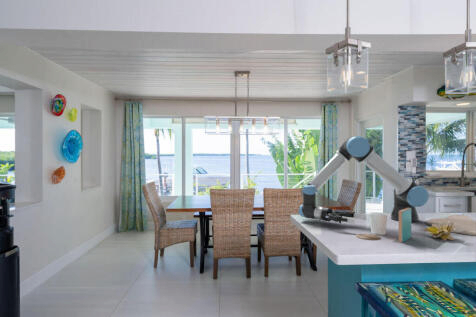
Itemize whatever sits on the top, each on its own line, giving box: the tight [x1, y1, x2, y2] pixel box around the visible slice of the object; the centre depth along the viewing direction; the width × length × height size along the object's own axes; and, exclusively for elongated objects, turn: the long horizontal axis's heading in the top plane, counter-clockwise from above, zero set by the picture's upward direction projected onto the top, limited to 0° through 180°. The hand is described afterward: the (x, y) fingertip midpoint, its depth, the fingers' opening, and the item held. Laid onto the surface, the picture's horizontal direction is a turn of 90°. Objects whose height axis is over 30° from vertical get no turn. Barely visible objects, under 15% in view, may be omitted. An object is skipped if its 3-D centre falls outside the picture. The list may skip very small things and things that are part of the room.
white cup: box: [369, 212, 388, 236], centre depth 158 cm, size 8×8×10 cm
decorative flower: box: [421, 220, 458, 242], centre depth 149 cm, size 15×11×10 cm
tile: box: [398, 208, 412, 244], centre depth 144 cm, size 12×2×14 cm, turn 134°
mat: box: [392, 235, 446, 250], centre depth 141 cm, size 16×17×1 cm
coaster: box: [355, 233, 382, 241], centre depth 150 cm, size 11×11×1 cm
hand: (360, 219), depth 165 cm, fingers open, 13 cm apart
